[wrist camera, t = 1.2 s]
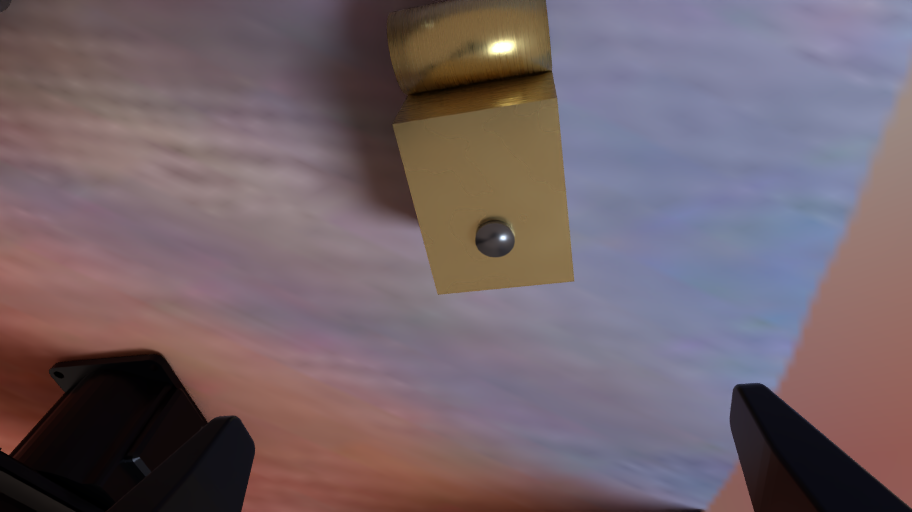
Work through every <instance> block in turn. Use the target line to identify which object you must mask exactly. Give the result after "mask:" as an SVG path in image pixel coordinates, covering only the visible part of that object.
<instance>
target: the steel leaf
mask: <svg viewBox="0 0 912 512" xmlns="http://www.w3.org/2000/svg"><path fill="white" fill-rule="evenodd" d="M10 3H11V0H0V12H3V11H4V10H6V9H7V8H8V6H9V5H10Z"/></svg>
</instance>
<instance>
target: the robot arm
mask: <svg viewBox="0 0 912 512" xmlns="http://www.w3.org/2000/svg"><path fill="white" fill-rule="evenodd" d="M49 374H50V375H51V377H52V378H53V379H54V380H55V381H56V383H57V384H58V385H59V386H60V387H61V388H62V390H63V391H64V392H65V393H64V394H63V396H62V397H61V398H60V399H59V400H58V401H57V402H56V403H55V404H54V406H53V407H52V408H51V409H50V410H49V411H48V412H47V413H46V414H45V416H44V417H43V418H42V419H41V420H40V421H39V422H38V423H37V425H36V426H35V427H34V428H33V429H32V430H31V431H30V432H29V433H28V435H27V436H26V437H25V438H24V439H23V440H22V441H21V442H20V443H19V445H18V446H17V447H16V448H15V449H14V450H13V451H12V452H11V453H10V455H7V454H6V453H4V452H2V451H0V512H241V510H242V506H243V502H244V497H245V493H246V489H247V485H248V480H249V476H250V472H251V468H252V463H253V459H254V455H255V445H254V441H253V439H252V438H251V436H250V435H249V433H248V431H247V430H246V428H245V426H244V425H243V423H242V421H241V420H240V419H239V418H238V417H237V416H219V417H216V418H214V419H212V420H211V421H210V422H209V423H207V421H206V420H205V418H204V417H203V415H202V414H201V412H200V411H199V409H198V408H197V406H196V405H195V403H194V402H193V400H192V399H191V397H190V396H189V394H188V393H187V391H186V390H185V388H184V387H183V385H182V384H181V382H180V381H179V379H178V378H177V376H176V375H175V373H174V372H173V370H172V369H171V367H170V366H169V364H168V363H167V361H166V360H165V359H164V358H163V357H161V356H159V355H155V354H150V355H139V356H127V357H115V358H104V359H92V360H80V361H68V362H58V363H56V364H55V365H54V366H53V367H52V368H51V369H50V370H49ZM730 427H731V431H732V435H733V439H734V442H735V446H736V449H737V453H738V456H739V460H740V463H741V467H742V470H743V474H744V477H745V481H746V484H747V488H748V491H749V495H750V498H751V501H752V505H753V509H754V512H912V509H911V508H910V507H909V506H908V505H907V504H905V503H904V502H903V501H902V500H901V499H899V498H898V497H897V496H896V495H895V494H893V493H892V492H891V491H890V490H889V489H888V488H886V487H885V486H884V485H883V484H882V483H880V482H879V481H878V480H877V479H876V478H875V477H873V476H872V475H871V474H870V473H868V472H867V471H866V470H865V469H864V468H863V467H861V466H860V465H859V464H858V463H857V462H855V461H854V460H853V459H852V458H850V456H848V455H847V454H846V453H845V452H843V451H842V450H841V449H840V448H839V447H838V446H836V445H835V444H834V443H833V442H832V441H830V440H829V439H828V438H827V437H826V436H825V435H823V434H822V433H821V432H820V431H819V430H817V429H816V428H815V427H814V426H813V425H811V424H810V423H809V422H808V421H807V420H806V419H804V418H803V417H802V416H801V415H799V414H798V413H797V412H796V411H795V410H794V409H792V408H791V407H790V406H789V405H788V404H786V403H785V402H784V401H783V400H782V399H781V398H779V397H778V396H777V395H776V394H775V393H773V392H772V391H771V390H770V389H769V388H767V387H766V386H765V385H763V384H760V383H749V384H738V385H736V386H735V387H734V389H733V393H732V402H731V410H730ZM1 449H2V448H0V450H1Z"/></svg>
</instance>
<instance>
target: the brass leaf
mask: <svg viewBox="0 0 912 512" xmlns="http://www.w3.org/2000/svg"><path fill="white" fill-rule="evenodd" d="M387 38H388V46H389V52H390V57H391V62H392V66H393V69H394V73H395V76H396V79H397V82H398V84H399V86H400V88H401V90H402V91H403V93H404V94H406V95H408V96H407V98H406V100H405V101H404V103H403V105H402V107H401V109H400V111H399V113H398V115H397V116H396V118H395V120H394V122H393V124H392V125H393V129H394V132H395V136H396V140H397V144H398V147H399V151H400V155H401V159H402V162H403V166H404V170H405V174H406V177H407V181H408V185H409V189H410V192H411V196H412V200H413V203H414V207H415V211H416V215H417V218H418V222H419V226H420V230H421V233H422V237H423V241H424V245H425V248H426V252H427V256H428V260H429V263H430V267H431V271H432V275H433V278H434V282H435V286H436V290H437V293H438V295H439V294H449V293H460V292H470V291H480V290H490V289H501V288H511V287H521V286H531V285H541V284H552V283H562V282H572V281H574V274H573V263H572V252H571V241H570V231H569V220H568V209H567V199H566V188H565V177H564V166H563V156H562V145H561V134H560V124H559V113H558V102H557V95H556V90H555V84H554V79H553V74H552V60H551V47H550V36H549V26H548V17H547V7H546V0H450V1H445V2H440V3H435V4H430V5H425V6H420V7H415V8H410V9H405V10H400V11H395V12H390V13H389V15H388V19H387Z"/></svg>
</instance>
